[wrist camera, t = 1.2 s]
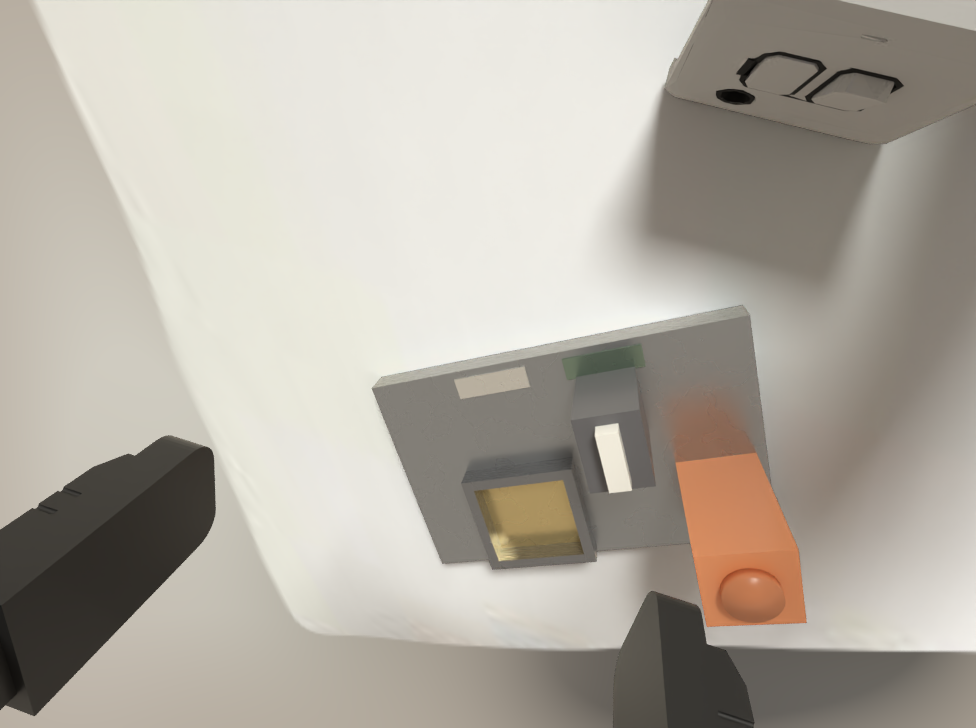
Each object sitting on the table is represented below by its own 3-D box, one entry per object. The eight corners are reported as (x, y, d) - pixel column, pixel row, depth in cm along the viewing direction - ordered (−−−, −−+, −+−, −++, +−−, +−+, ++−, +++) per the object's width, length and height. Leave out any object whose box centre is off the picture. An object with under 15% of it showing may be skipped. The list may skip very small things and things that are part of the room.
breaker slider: (635, 366, 27) (640, 418, 23) (649, 434, 29) (657, 497, 24) (576, 376, 28) (569, 429, 23) (592, 442, 30) (589, 504, 25)
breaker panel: (742, 305, 27) (756, 323, 24) (770, 517, 31) (783, 551, 29) (381, 377, 32) (363, 398, 30) (448, 547, 37) (437, 577, 34)
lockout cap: (756, 452, 28) (803, 560, 21) (764, 515, 29) (811, 634, 23) (675, 462, 29) (695, 567, 22) (687, 522, 30) (708, 638, 24)
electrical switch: (658, 94, 24) (697, 46, 15) (703, -45, 22) (777, -190, 13) (876, 148, 23) (1050, 130, 14) (941, 8, 21) (1186, -109, 12)
